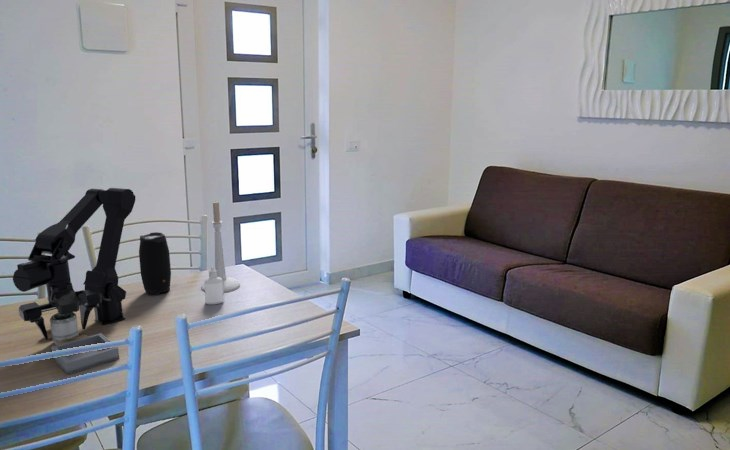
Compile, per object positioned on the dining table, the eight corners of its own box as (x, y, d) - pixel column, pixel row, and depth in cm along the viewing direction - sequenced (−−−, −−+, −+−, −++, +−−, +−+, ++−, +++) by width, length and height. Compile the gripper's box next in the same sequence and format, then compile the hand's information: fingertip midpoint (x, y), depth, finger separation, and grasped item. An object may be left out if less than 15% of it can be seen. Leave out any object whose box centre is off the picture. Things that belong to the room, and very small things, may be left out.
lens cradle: (72, 329, 157) (71, 321, 157) (89, 345, 147) (87, 336, 147) (44, 336, 153) (43, 328, 152) (60, 354, 143) (58, 345, 142)
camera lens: (58, 348, 146) (54, 320, 144) (49, 341, 150) (45, 314, 148) (83, 341, 150) (79, 313, 148) (74, 334, 154) (70, 307, 152)
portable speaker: (174, 293, 185) (169, 236, 181) (144, 298, 181) (139, 240, 176) (169, 285, 193) (164, 230, 188) (140, 290, 188) (135, 234, 184)
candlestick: (240, 291, 187) (235, 203, 180) (200, 294, 184) (194, 205, 177) (239, 279, 199) (235, 196, 192) (202, 281, 196) (196, 198, 189)
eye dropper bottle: (219, 305, 175) (217, 269, 172) (203, 304, 176) (200, 268, 173) (226, 300, 179) (223, 265, 176) (210, 299, 180) (207, 263, 177)
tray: (102, 343, 149) (101, 332, 148) (119, 358, 140) (118, 347, 140) (52, 357, 141) (51, 346, 140) (67, 375, 132) (66, 363, 132)
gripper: (25, 295, 134) (34, 355, 138) (106, 278, 146) (112, 333, 150) (14, 284, 142) (23, 341, 145) (91, 268, 154) (97, 321, 158)
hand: (65, 334), depth 150 cm, fingers open, 9 cm apart
